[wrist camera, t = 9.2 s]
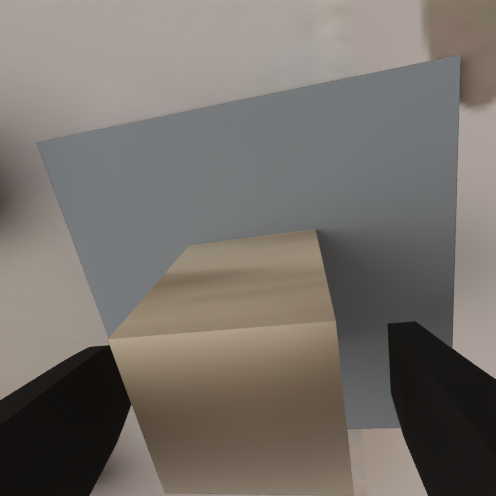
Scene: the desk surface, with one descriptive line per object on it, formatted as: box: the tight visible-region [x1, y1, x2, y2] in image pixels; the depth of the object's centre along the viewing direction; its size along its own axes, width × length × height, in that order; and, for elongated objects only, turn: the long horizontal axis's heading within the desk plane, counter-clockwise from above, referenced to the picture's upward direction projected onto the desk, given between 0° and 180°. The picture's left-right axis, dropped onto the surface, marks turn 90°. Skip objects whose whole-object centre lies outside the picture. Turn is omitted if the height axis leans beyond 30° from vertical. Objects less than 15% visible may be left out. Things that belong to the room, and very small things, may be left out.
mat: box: [37, 55, 461, 429], centre depth 12 cm, size 13×13×1 cm
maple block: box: [108, 229, 354, 495], centre depth 9 cm, size 4×4×6 cm
